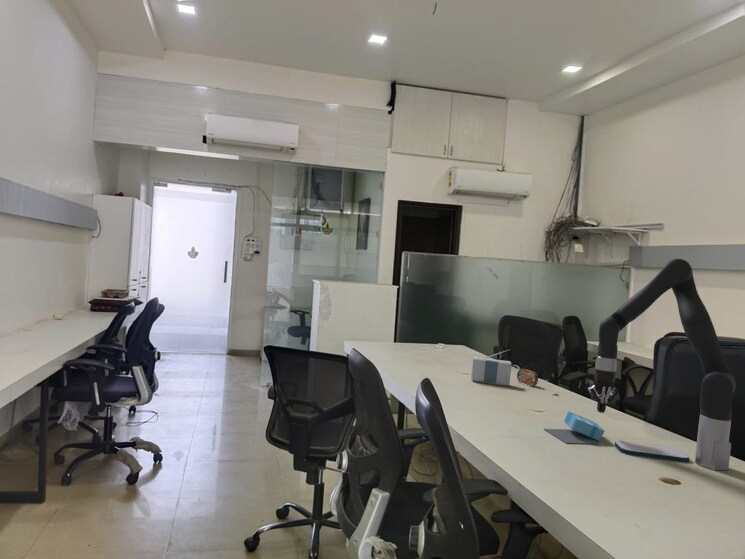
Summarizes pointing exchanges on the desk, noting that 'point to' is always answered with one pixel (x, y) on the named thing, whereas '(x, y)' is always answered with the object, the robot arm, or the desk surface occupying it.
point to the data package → (584, 426)
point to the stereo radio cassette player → (491, 371)
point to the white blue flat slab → (651, 451)
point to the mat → (571, 436)
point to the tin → (527, 377)
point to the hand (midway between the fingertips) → (601, 412)
